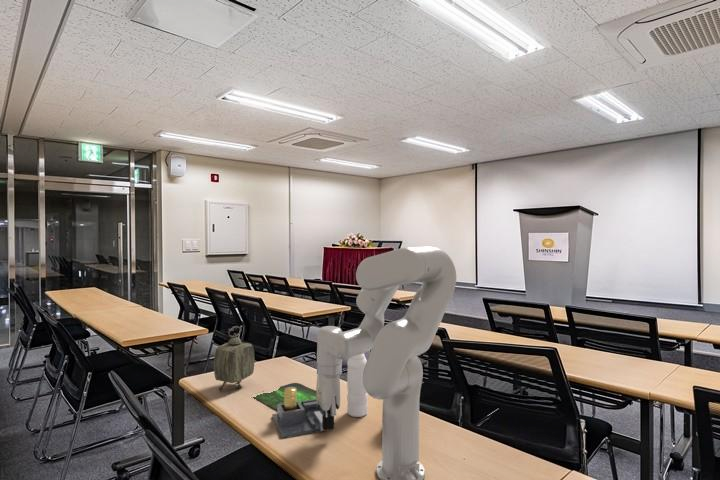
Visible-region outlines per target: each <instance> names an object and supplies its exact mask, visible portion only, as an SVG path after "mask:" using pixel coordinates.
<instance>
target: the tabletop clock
mask: <svg viewBox="0 0 720 480" xmlns="http://www.w3.org/2000/svg"><path fill="white" fill-rule="evenodd" d="M234 329H239V332H238V333H233V335H232V334H231V335H230V333H231V331H232V330H234ZM241 332H242V329H241V326H238V325H235V326H232V327H231V328H230V329H229V331H228V336H229V338H230V339H229V340H228V342H225V343H224V344H222V345H219V346H217V348H216V349H215V351H214V356H213V373H214V374H213V375H214V378H215V380H216V381H220V382H223V383H222V385H221V386H219V387H218V391H219V390H220V391H219V392H222V391H223V390H224V386H225V385H226V384H227V383H229V384H230V383H231V384H234V383H237V389H238V388H240V389H241V388H242V385H241V384H240V383H241V382H242V380H245V379H248V378H249V377H250V376H252V375H253V374H254V369H255V349H254V346H253V345H252V343H248V342H242V340H241V339H240V337H238V336H239V335H240V334H241ZM239 382H240V383H239ZM221 390H222V391H221Z"/></svg>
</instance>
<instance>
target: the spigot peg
mask: <svg viewBox="0 0 720 480" xmlns="http://www.w3.org/2000/svg"><path fill="white" fill-rule="evenodd" d="M296 405H297V388H295V387H287V388H285V389H284V412H285V411H291V410H296Z"/></svg>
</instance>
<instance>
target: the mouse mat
mask: <svg viewBox="0 0 720 480" xmlns="http://www.w3.org/2000/svg"><path fill="white" fill-rule="evenodd" d="M279 387H280V388H279V389H278V390H276V391H273V392H271V393H263V394H260V395H257V396H256V397H253V398H254V400H255V399H256V400H255V401H257V402H259V403H261V404H263V405H264V406H266V407H267V408H270V409H271V410H273V411H275V412H277V404H284V389H285V388H287V387H295V388H297V401H299V402H300V403H301V401H305V400H312V399H316V389H313V388H310V387H308V386H306V385H304V384H302V383H299V382H293V383H289V384H285V385H282V386H281V385H280V386H279ZM253 398H252V399H253Z"/></svg>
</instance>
